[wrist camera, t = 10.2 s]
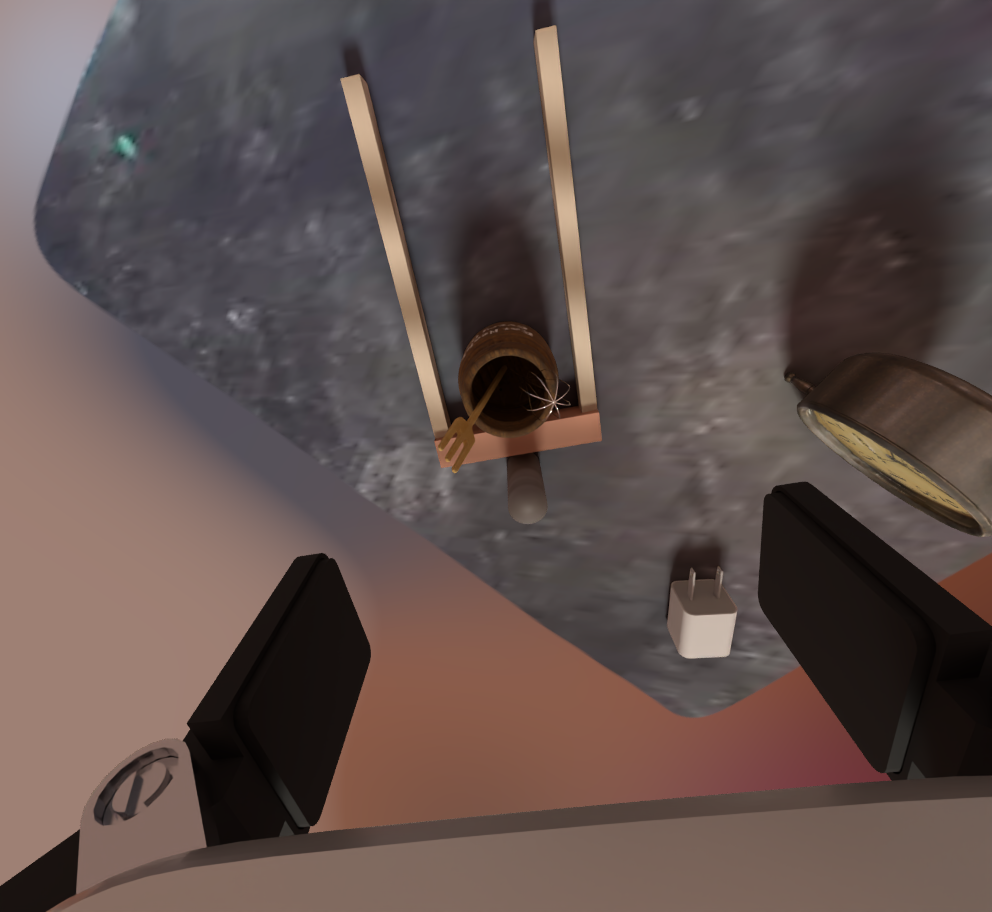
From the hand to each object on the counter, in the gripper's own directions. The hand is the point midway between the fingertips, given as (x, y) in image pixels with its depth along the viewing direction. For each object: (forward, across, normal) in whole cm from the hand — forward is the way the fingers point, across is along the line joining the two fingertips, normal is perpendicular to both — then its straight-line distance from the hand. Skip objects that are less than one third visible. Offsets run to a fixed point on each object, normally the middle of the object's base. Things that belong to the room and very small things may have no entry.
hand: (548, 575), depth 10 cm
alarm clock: (+23, -21, +7) cm, 32 cm away
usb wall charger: (+23, -11, +22) cm, 33 cm away
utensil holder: (+23, +1, +1) cm, 23 cm away
